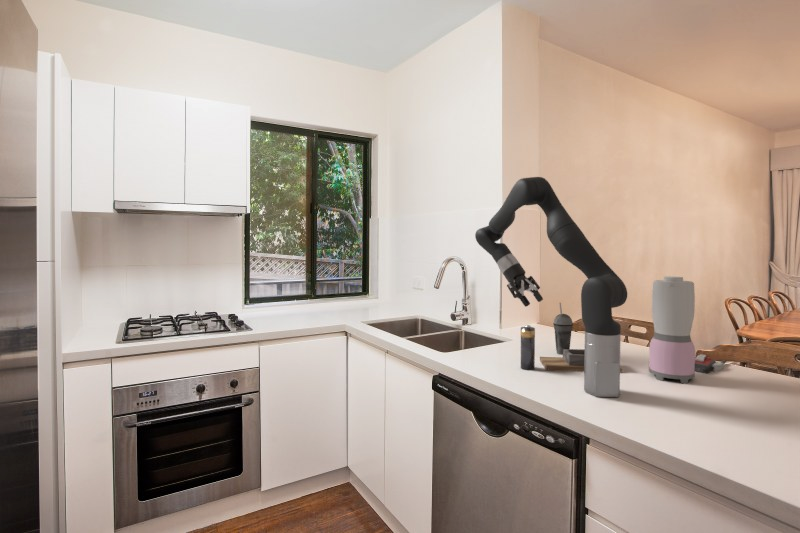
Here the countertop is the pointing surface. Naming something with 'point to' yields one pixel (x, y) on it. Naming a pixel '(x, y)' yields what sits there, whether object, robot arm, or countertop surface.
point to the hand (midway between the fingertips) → (534, 303)
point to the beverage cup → (562, 331)
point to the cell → (527, 348)
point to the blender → (672, 329)
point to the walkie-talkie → (707, 364)
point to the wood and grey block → (566, 361)
